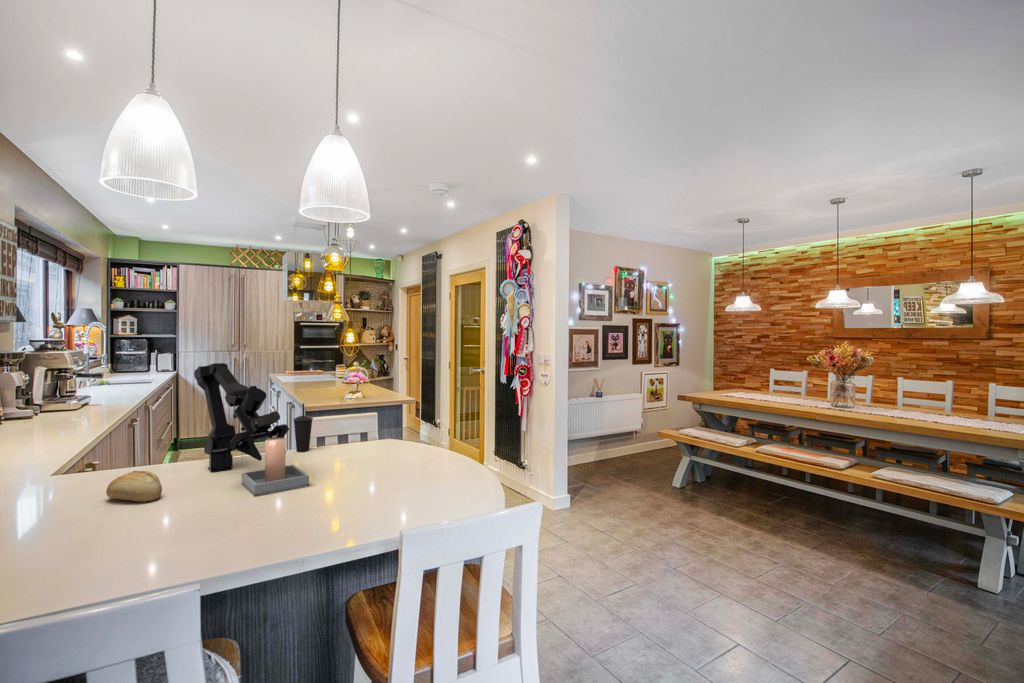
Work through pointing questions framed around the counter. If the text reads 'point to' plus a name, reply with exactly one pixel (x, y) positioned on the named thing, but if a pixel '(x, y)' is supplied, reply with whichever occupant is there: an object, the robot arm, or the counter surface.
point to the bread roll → (135, 487)
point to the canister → (275, 459)
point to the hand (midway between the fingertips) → (273, 456)
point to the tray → (259, 487)
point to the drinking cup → (302, 432)
